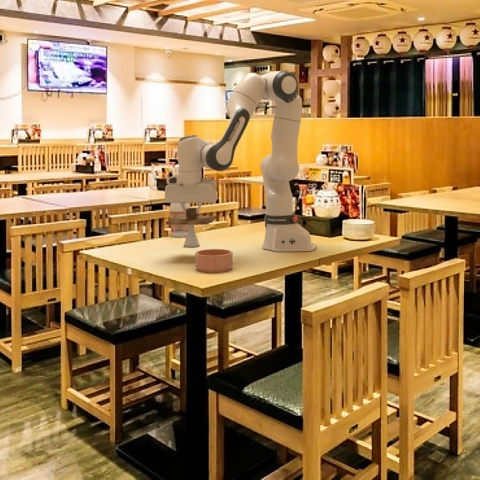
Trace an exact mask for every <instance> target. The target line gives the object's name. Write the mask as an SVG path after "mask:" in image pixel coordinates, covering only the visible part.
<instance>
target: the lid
mask: <svg viewBox="0 0 480 480" xmlns="http://www.w3.org/2000/svg"><path fill="white" fill-rule="evenodd" d="M197 208H198V207H190V208H188V209H186V216H177V217H175V218H173V219H171V220H170V219H169V220H167V221H165V225H168V226H169V225H170V226H171V225H194V226H196V225H197V226H198V225H199V226H200V225H204V226H206V225H209V224H210V223H212V222H213V221H215V220H216V219H217V218H218V217H217V215H198V214H195V210H196V209H197Z"/></svg>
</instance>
